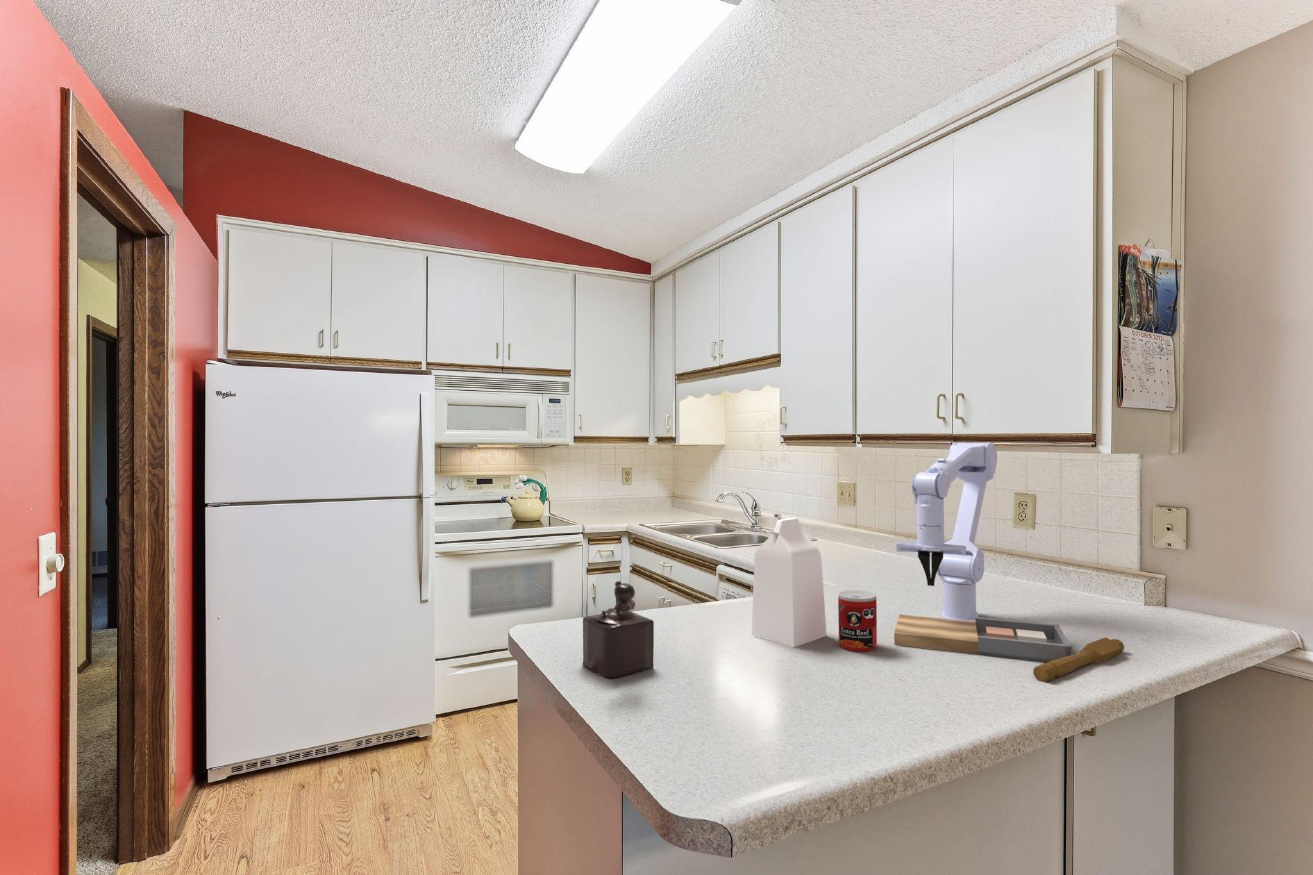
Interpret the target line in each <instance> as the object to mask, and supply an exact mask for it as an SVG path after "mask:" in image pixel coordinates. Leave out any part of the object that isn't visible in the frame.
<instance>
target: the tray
mask: <svg viewBox="0 0 1313 875" xmlns="http://www.w3.org/2000/svg"><path fill="white" fill-rule="evenodd" d="M975 623H976V629H977V635H978V642H979V654H978V656H979V655H981V656H990V657H996V658H997V657H999V658H1005V659H1006V658H1007V659H1016V660H1023V661H1031V662H1032V661H1033V662H1040V663H1041V662H1042V663H1047V662H1050V661H1053V660H1056V659H1060V658H1063V657H1067V656H1071V655H1073V646H1072V645H1071V643H1070V642H1069V640H1068V638H1067V637H1066V635H1065V634H1064V632H1063V630H1062V628H1061V627H1060V625H1059V624H1052V623H1043V622H1033V621H1032V622H1030V621H1021V620H1019V621H1018V620H1010V619H998V618H988V617H979V616H978V617H975ZM986 627H996V628H1006V629H1012V630H1013V633H1014V638H1015V639H1005V638H996V637H986ZM1016 629H1019V630H1029V631H1039V632H1044V634H1045V636H1046V638H1047V643H1044V642H1034V641H1025V640H1016Z"/></svg>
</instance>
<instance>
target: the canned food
mask: <svg viewBox="0 0 1313 875" xmlns="http://www.w3.org/2000/svg"><path fill="white" fill-rule="evenodd" d="M837 597H838V598H837V604H838V610H837V611H838V644H839V646H840V647H841V648H842V649H843V650H846V651H850V652H858V653H865V652H871V651H872V652H873V651H874V650H875V649H876V648H877V644H878V638H877V637H878V636H877V635H878V634H877V633H878V632H877V631H878V626H877V624H878V623H877V611H878V610H877V609H878V608H877V606H878V605H877V594H875V593H874V592H872V591H871V592H870V591H866V590H859V589H849V590H842V591H839V592H838V596H837Z"/></svg>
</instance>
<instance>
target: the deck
mask: <svg viewBox="0 0 1313 875" xmlns="http://www.w3.org/2000/svg"><path fill="white" fill-rule="evenodd" d="M893 634H894V636H893V637H894V640H893V641H894V645H895V646H902V647H911V648H920V649H930V650H936V651H947V652H953V653H954V652H955V653H963V654H970V655H971V654H973V655H979V642H978V635H977V629H976V623H975V622H974V621H964V620H953V619H943V618H942V617H941V618H940V617H933V616H931V617H929V616H920V615H910V614H898V618H897V621H896V626H895V629H894V633H893Z"/></svg>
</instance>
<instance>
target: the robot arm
mask: <svg viewBox="0 0 1313 875" xmlns="http://www.w3.org/2000/svg"><path fill="white" fill-rule="evenodd" d="M997 451H998V450H997V448H996V446H995V444H994V443H993V442H989V441H988V442H970V443H969V442H953V443H952V444H951V445H950V448H949V451H948V452H949V453H948V456H947V457H946V458H945V457H944V458H943V457H942V458H938V459H936V462H934V464H932V465H931V466H930V467H928V469H926V470H925V472H921V471H920V472H918V473H915V475H914V476H913V478H912V480H911V481H912V482H911V492H912V495H913V501H914V502H913V503H914V504H915V505H916V542H915V541H914V542H913V541H912V542H911V541H909V542H907V541H906V542H905V541H904V542H902V541H897V542H896V546H895V547H896V552H900V553H901V552H906V553H907V552H908V553H917V557H918V559H919V562H920V564H921V566H922V569H923V572H924V574H925V575H924V576H925V578H926V583H927V584H926V585H927V586H928V587H929V586H931V587H934V586H935V581H936V577H937V576H938V577H939V578H940V581H942V592H943V594H942V598H943V606H942V607H943V608H941V618H943V619H953V620H964V621H974V622H975V617H979V615H978V611H977V586H976V585H977V583H979V582H980V581H981V580H982V578H983V577H984V572H985V564H984V563H985V555H984V552H983V551H982V550H981V549H980V548H979V547H978V546H977V545H976V544H975V541H976V537H977V532H978V526H979V523H980V522H979V521H980V516H981V513H982V512H981V511H982V506H983V502H984V496H985V493H986V486H987V483H988V482H989V481H990V480H992V479H994V476H995V473H996V468H997V464H998V452H997ZM957 478H958V479H959V480H961V481H963V486H962V487H963V488H962V492H961V498H960V502H959V507H958V512H957V516H956V520H955V524H954V525H955V526H954V530H953V534H952V538H951V539H949V540H948V541H946V542H945V498H947V496H948V493H949V489H950V488H951V484H952V483H953V482H954V481H955V480H956V479H957Z"/></svg>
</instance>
